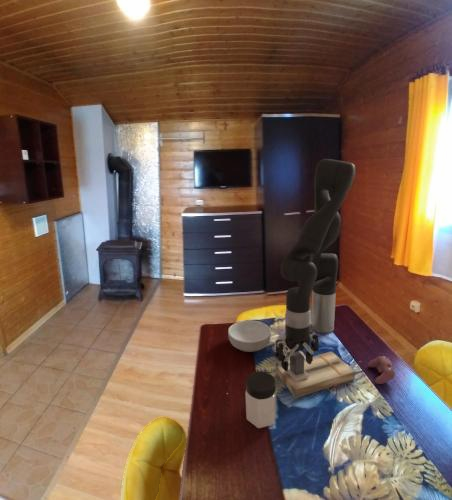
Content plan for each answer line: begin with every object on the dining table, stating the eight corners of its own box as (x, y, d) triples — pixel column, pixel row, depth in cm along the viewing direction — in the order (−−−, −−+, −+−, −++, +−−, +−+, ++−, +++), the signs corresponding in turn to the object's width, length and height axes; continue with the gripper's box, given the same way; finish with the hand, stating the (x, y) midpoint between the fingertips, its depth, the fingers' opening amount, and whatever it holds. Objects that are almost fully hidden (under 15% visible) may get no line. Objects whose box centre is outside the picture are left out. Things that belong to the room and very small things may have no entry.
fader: (285, 369, 100) (285, 351, 99) (298, 366, 102) (298, 348, 100) (294, 381, 95) (295, 362, 93) (308, 377, 96) (309, 358, 95)
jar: (250, 431, 82) (249, 394, 79) (242, 408, 90) (241, 374, 86) (281, 423, 84) (281, 387, 81) (271, 402, 91) (270, 368, 88)
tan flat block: (277, 373, 104) (277, 366, 103) (331, 358, 110) (331, 350, 109) (295, 398, 93) (295, 389, 92) (354, 379, 99) (355, 371, 98)
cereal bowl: (280, 347, 118) (280, 331, 116) (246, 364, 109) (245, 347, 107) (252, 330, 132) (252, 315, 130) (220, 343, 123) (219, 328, 121)
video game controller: (387, 390, 96) (400, 374, 94) (374, 383, 96) (386, 367, 94) (378, 369, 105) (390, 355, 103) (366, 363, 106) (377, 348, 103)
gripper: (310, 311, 99) (309, 354, 103) (271, 320, 95) (271, 364, 99) (324, 322, 92) (322, 367, 96) (283, 332, 88) (283, 379, 92)
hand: (297, 366), depth 98 cm, fingers open, 8 cm apart
